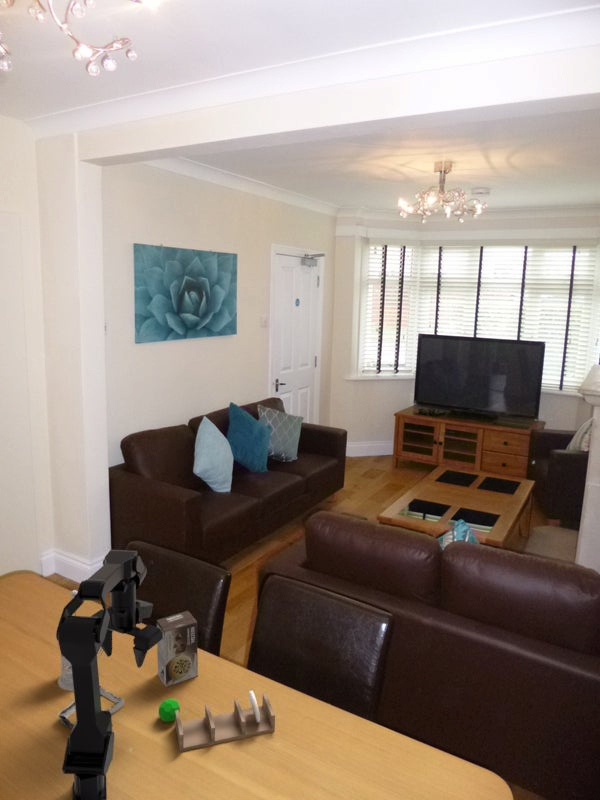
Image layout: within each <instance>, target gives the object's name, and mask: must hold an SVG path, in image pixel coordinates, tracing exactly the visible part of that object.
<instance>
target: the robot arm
mask: <svg viewBox="0 0 600 800" xmlns="http://www.w3.org/2000/svg"><path fill="white" fill-rule="evenodd" d="M147 573H148V569H147V566H146V564H145V563H144V562H143V560H142V557H141V556H140V555H138V551H137V550H123V549H122V550H121V549H120V550H119V549H110V550H109V551H108V553H106V555H105V556H104V559H103V560H102V566H101V567H100V568H99V569H98V570H97V571H95V572H94V573H93V574H91V576H89V577H88V578H86V579H85V580H82V581H80V583H79V586H78V589H77V591H78V592H77V594H76V596H75V597H73V598H72V599H71V600H69V601H68V603H67V604H66V605H65V606H64V608H63V610H62V613H61V615H60V618H59V622H58V625H57V628H56V637H55V638H56V641H57V643H58V647H59V651H60V652H59V653H60V655H61V654H62V655H63V656H64V657H65V658H66V659H67V660H68V661H69V662H70V663H71V669H72V679H73V689H74V691H73V699H74V701H75V709H76V710H75V717H76V719H75V720H76V721H75V723H74V724H73V725H74V727H73V729H72V728H71V731H70V733H69V736H68V737H67V741H66V746H65V750H64V757H63V762H62V768H61V770H62V773H63V775H73V782H72V800H107V799H108V798H107V794H108V793H107V773H108V771H109V768H110V765H111V763H112V762H113V758H114V748H115V747H114V745H115V732H114V731H113V726H114V725H113V722H112V714H111V713H110V711H106V710H102V703H101V702H102V701H101V694H100V687H99V686H100V678H99V666H98V658H97V657H98V654H97V653H98V652H99V651H100V650H101V648H102V650H103V653H105V655H106V657H108V658H109V657H111V656H112V654H113V632H114V633H115V632H116V633H118V634H123V635H124V634H126V635H128V636H131V637H133V639H132V640H133V645H134V646H133V647H132V650H133V654H134V658H135V664H136V667H137V668H138V669H140V668H141V667H142V666H143V663H145V662H144V661H145V659H146V656H147V653H148V651H149V650H151V649H152V648H153V647H154V646H156V645H157V643H158V642H159V641H160V640H162V639H163V632H162V629H160V628H158V627H157V626H154V625H152V624H146V625H145V626H144V627H143V628H141V627H138V626H137V624H138V625H140V624H141V623H143V619H146V618H148V619H151V616H152V611H153V606H154V603H151V602H148V601H144V600H140V599H137V595H136V594H137V593H136V591H137V590H138V589H139V587H140V586H141V584H142V582H143V581H144V579H145V577H146V575H147ZM108 594H109V595H110V597H109V599H110V606H107V603H106V602H107V599H108ZM85 601H90V602H100V604H101V607H102V608H101V609H99V610H98V611H97V612H95V613H94V614H91V616H89V615H88V616H84V615H83V616H82V615H76V616H75V612H76V613H77V611H78V609H79V608H80V607H81V606H82V605H83V604H84V603H85Z"/></svg>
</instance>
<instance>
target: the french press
mask: <svg viewBox="0 0 600 800" xmlns="http://www.w3.org/2000/svg"><path fill="white" fill-rule="evenodd" d="M77 592H78V590H76V589H74V590H71V591H70V593H69V594H70V595H69V596H70V597H73V598H74V597H75V596H76V594H77ZM76 613H77V611H76V612H75V613H74V616H77V615H76ZM103 653H104V650H103V649H102V647H100V649H99V651H98V653H97V655H98V656H97V659H99V658H100V657H101V656H102V654H103ZM60 663H61V664H60V665H61V667H60V668H61V674H60V676H59V677H58V680H57V685H58V687H60V688H61V689H62V690H65V691H69V692H71V691H72V692H74V689H73V679H72V669H71V663H70V662H69V661H68V660H67V659H66V658H65V657H64V656H63V655H62V654H61V653H60Z"/></svg>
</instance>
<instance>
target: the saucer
mask: <svg viewBox="0 0 600 800" xmlns="http://www.w3.org/2000/svg"><path fill="white" fill-rule="evenodd" d="M248 698H249V702H250V705H251V706H250V708H252V711H253V714H254V717H255V720H256V722H257V723H258V722H261V719H260V713H259V709H258V707H259V706H258V702H257V698H256V694H255V693H254V690H248Z"/></svg>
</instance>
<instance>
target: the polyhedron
mask: <svg viewBox="0 0 600 800" xmlns="http://www.w3.org/2000/svg"><path fill="white" fill-rule="evenodd" d="M176 710H179V714H180V712H181V708H180V704H179V702H178V700H176V699H174V698H171V697H170V698H168V699H165V700H163V701H161V704H159V707H158V716H159V717H160V719H161V720H162V721H164V722H166V723H169V722H172V721H175V711H176Z"/></svg>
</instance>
